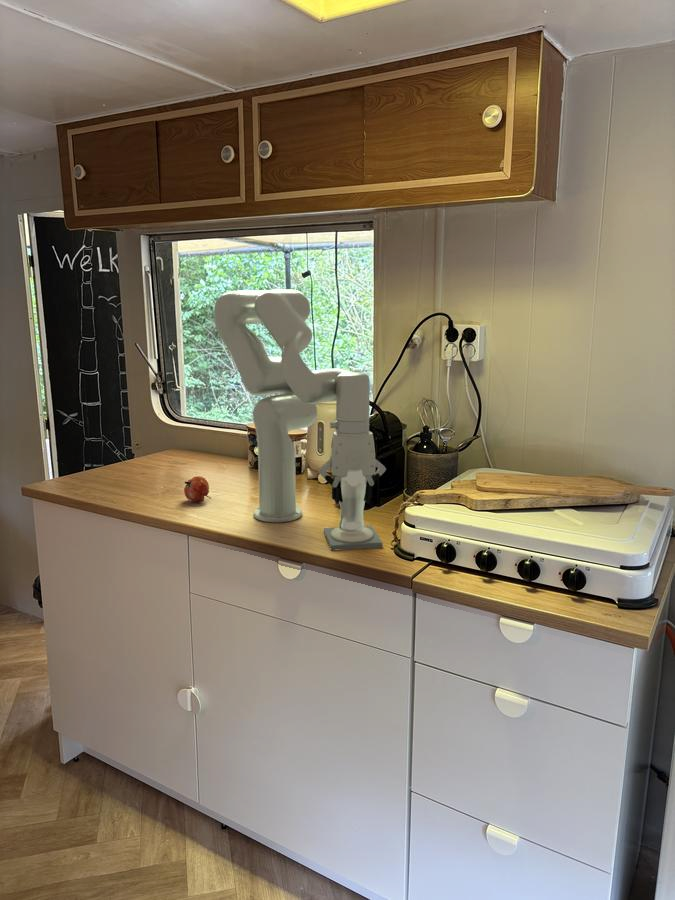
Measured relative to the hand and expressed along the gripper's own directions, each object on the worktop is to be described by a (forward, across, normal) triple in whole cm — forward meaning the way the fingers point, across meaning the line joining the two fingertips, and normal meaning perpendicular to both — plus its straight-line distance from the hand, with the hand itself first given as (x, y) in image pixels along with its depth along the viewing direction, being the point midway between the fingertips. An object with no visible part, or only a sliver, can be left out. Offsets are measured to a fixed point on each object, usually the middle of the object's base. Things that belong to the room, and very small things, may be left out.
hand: (352, 500), depth 164 cm
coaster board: (+10, 0, 0) cm, 10 cm away
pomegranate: (+10, -37, +37) cm, 53 cm away
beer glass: (+7, 0, 0) cm, 7 cm away
